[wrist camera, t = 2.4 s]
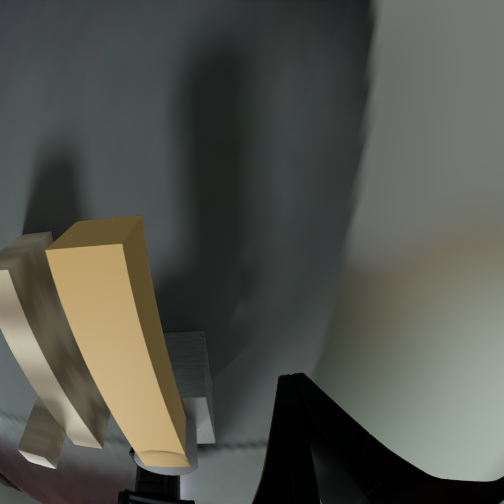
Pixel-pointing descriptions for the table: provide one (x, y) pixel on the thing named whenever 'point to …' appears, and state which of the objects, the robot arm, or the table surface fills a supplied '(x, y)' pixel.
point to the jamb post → (193, 379)
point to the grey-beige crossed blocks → (47, 355)
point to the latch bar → (124, 337)
